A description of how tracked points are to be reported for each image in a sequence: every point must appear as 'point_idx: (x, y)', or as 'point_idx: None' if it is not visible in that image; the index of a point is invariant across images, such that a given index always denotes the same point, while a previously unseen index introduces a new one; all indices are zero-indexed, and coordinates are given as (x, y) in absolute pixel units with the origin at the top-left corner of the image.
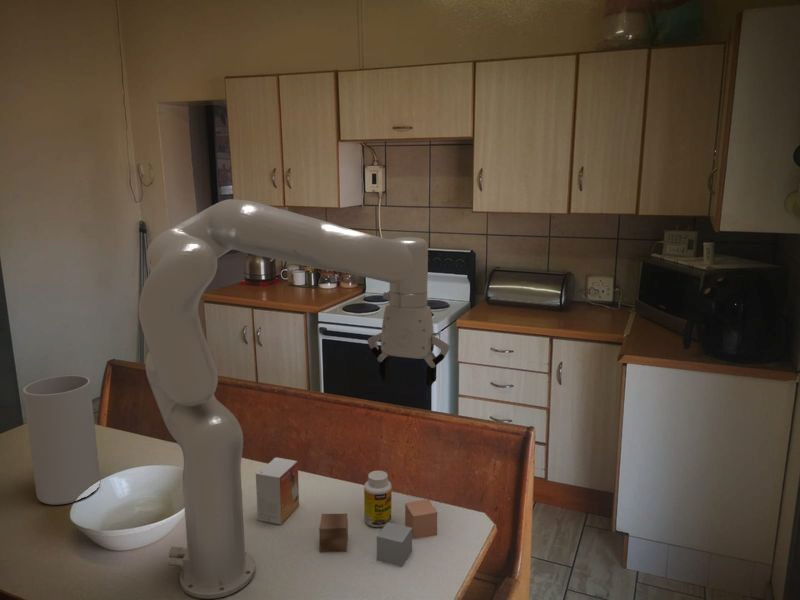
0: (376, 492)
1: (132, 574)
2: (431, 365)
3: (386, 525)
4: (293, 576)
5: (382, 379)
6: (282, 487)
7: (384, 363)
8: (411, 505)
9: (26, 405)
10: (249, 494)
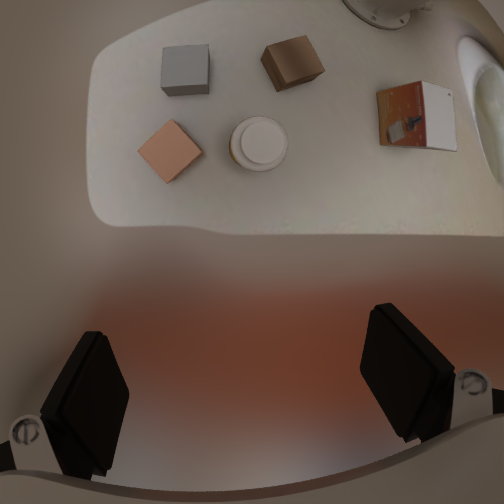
0: (251, 117)
1: (435, 3)
2: (33, 429)
3: (205, 74)
4: (299, 4)
5: (386, 304)
6: (408, 90)
7: (432, 376)
8: (187, 149)
9: None
10: (442, 155)
